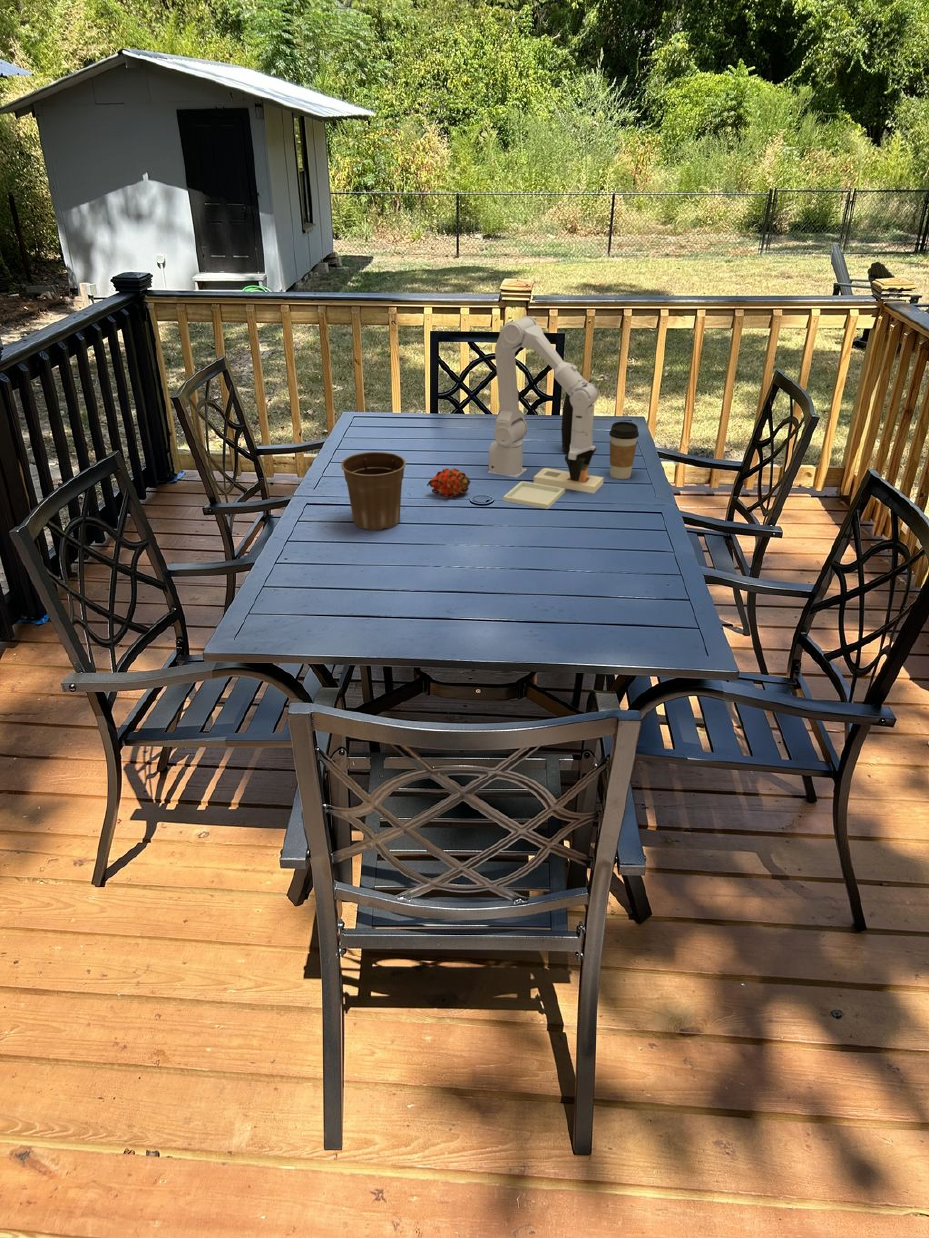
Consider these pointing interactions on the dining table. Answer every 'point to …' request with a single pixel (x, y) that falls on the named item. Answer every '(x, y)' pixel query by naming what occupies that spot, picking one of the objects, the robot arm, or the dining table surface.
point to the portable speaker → (566, 424)
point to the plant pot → (374, 488)
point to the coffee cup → (622, 449)
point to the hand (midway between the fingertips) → (578, 476)
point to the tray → (534, 495)
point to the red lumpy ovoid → (449, 483)
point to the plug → (584, 474)
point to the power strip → (567, 480)
